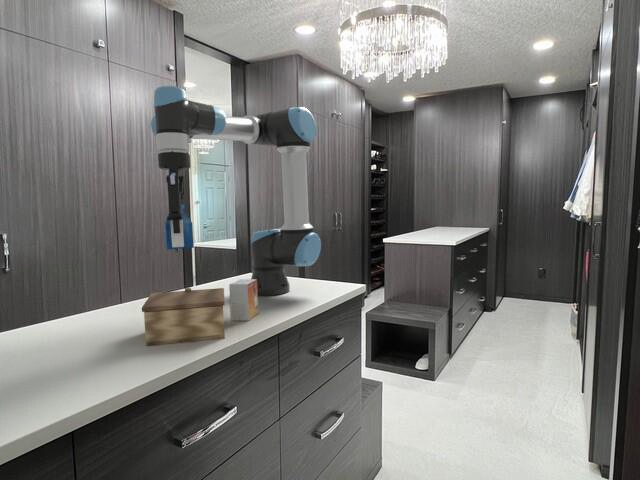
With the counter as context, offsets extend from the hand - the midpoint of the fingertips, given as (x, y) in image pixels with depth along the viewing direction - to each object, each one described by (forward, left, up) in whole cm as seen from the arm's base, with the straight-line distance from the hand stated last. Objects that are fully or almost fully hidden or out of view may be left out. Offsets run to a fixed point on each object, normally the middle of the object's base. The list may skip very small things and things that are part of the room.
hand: (179, 245), depth 104 cm
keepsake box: (-1, 0, -23) cm, 23 cm away
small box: (-16, -11, -23) cm, 30 cm away
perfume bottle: (0, 0, -1) cm, 1 cm away
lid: (-1, 0, -14) cm, 14 cm away
